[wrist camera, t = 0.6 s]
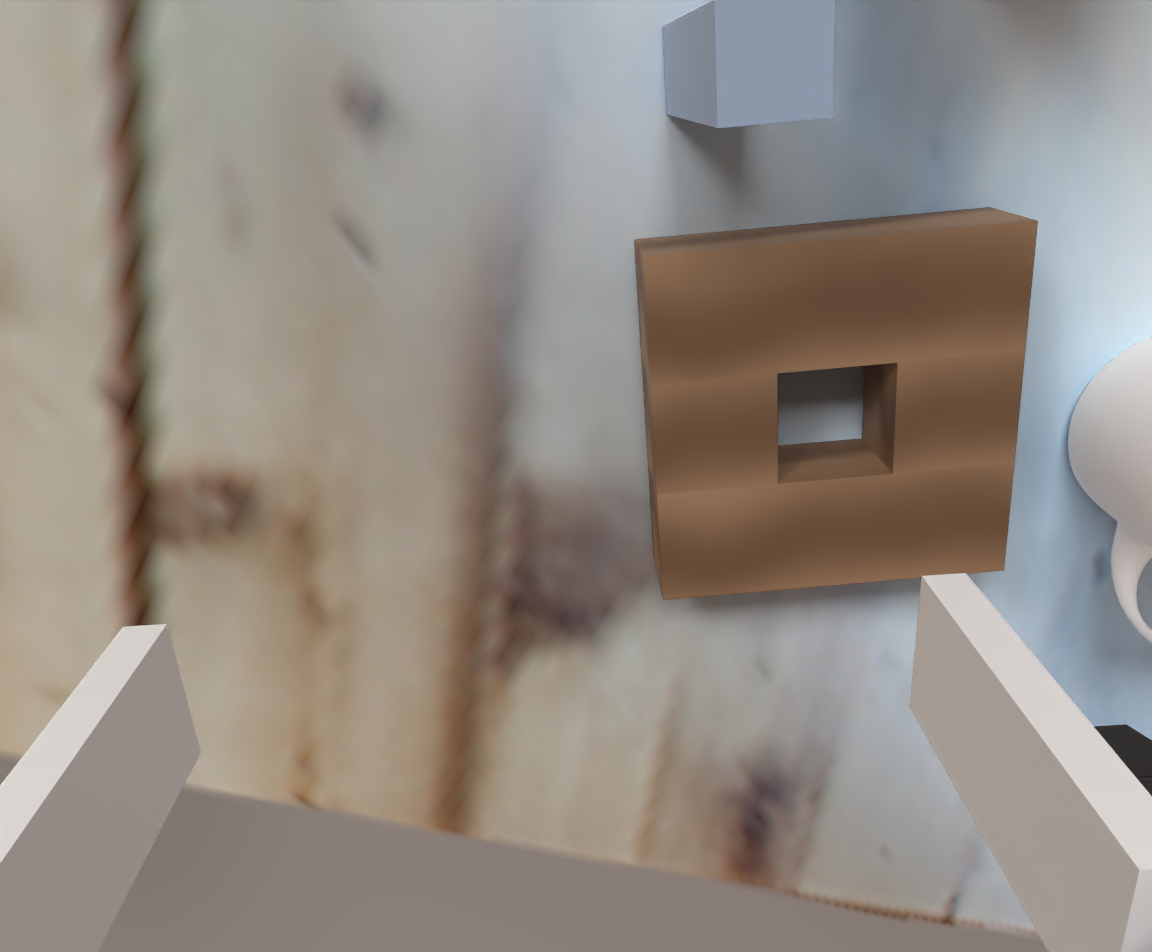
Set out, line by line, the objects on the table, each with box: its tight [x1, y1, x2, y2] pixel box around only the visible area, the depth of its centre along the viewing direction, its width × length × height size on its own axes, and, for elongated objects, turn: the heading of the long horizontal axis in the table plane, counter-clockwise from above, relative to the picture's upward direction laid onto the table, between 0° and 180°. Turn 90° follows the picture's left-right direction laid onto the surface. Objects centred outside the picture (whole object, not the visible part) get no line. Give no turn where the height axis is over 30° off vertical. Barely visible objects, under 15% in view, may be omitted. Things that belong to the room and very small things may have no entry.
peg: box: [662, 0, 835, 128], centre depth 30 cm, size 3×3×12 cm
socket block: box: [634, 207, 1038, 600], centre depth 38 cm, size 14×14×4 cm
